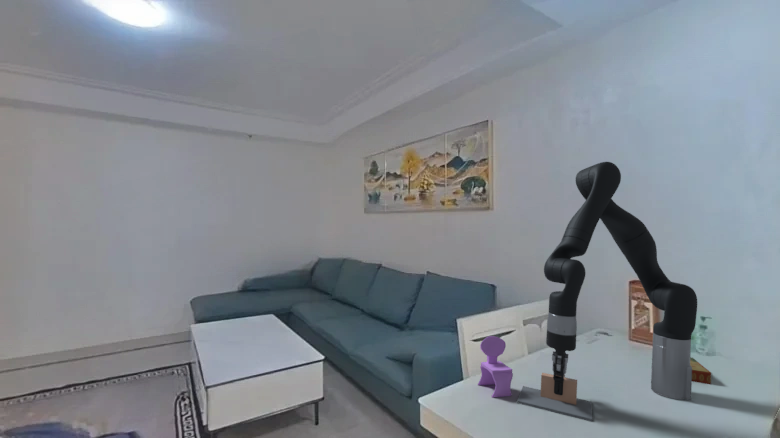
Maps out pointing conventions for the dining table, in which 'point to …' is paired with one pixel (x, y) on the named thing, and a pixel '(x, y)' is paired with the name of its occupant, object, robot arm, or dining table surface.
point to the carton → (699, 372)
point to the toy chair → (495, 367)
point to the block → (568, 389)
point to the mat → (555, 404)
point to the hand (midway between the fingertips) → (558, 392)
